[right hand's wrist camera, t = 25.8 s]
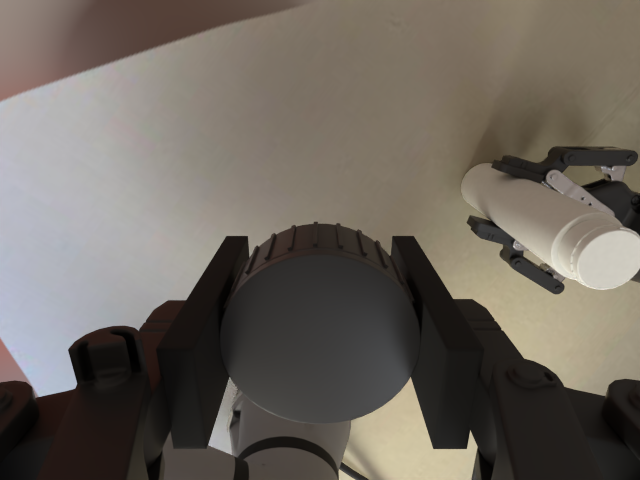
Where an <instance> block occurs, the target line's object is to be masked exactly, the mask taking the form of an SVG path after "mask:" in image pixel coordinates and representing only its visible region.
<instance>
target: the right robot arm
mask: <svg viewBox="0 0 640 480" xmlns="http://www.w3.org/2000/svg"><path fill="white" fill-rule="evenodd" d="M391 255H392V256H393V257H394V259H395V261H396V264H397V266H398V268H399V271H400V272H402V273H403V275H404V278H405V280H406V282H407V284H408V287H409V289H410V291H411V293H412V296H413V298H414V300H415V303H414V304H413V306H414V308H415V311H416V314H417V316H418V319H419V324H420V329H421V342H420V351H419V357H418V361H417V364H416V366H415V369H414V371H413V373H412V375H411V379H412V382H413V385H414V388H415V391H416V395H417V398H418V401H419V404H420V407H421V411H422V414H423V417H424V420H425V423H426V427H427V430H428V433H429V436H430V439H431V443H432V446H433V449H467V445H468V439H469V433H470V430H471V432H472V435H473V437H474V439H475V441H476V444H477V446H478V448H477V453H476V459H475V464H474V469H473V474H472V480H640V381H638V380H630V379H622V380H615V381H614V382H612V383H611V384H610V385H609V387H608V390H607V393H606V396H601V395H597V394H592V393H587V392H583V391H578V390H574V389H570V388H566V387H564V385H563V383H562V382H561V380H560V379H559V378H558V376H557V375H556V374H555V373H553V372H552V371H551V370H549V369H548V368H547V367H545V366H543V365H541V364H538V363H536V362H534V361H531V360H527V359H524V358H523V357H522V355H521V354H520V353H519V351H518V350H517V349H516V347H515V346H514V345H513V343H512V342H511V341H510V339H509V338H508V337H507V335H506V334H505V333H504V331H501V327H500V326H499V325H498V323H497V322H496V321H494V318H493V317H492V315H491V314H490V313H489V311H488V310H487V309H486V308H485V307H483V306H482V305H480V304H479V303H477V302H476V301H474V300H473V299H453V298H452V296H451V295H450V293H449V292H448V290H447V288H446V287H445V285H444V284H443V282H442V280H441V279H440V277H439V276H438V274H437V273H436V271H435V269H434V268H433V266H432V265H431V263H430V261H429V260H428V258H427V257H426V255H425V253H424V252H423V250H422V249H421V247H420V245H419V244H418V242H417V241H416V239H415V238H414V236H392V250H391ZM248 259H249V246H248V236H226V238H225V240H224V241H223V243H222V244H221V246H220V247H219V249H218V251H217V252H216V254H215V255H214V257H213V259H212V260H211V262H210V263H209V265H208V267H207V268H206V270H205V271H204V273H203V275H202V276H201V278H200V279H199V281H198V283H197V284H196V286H195V287H194V289H193V290H192V292H191V294H190V295H189V297H188V298H187V300H168V301H167V302H165V303H164V304H162V305H161V306H159V307H158V308H156V309H155V310H154V311H153V312H152V313H151V315H150V316H149V317H148V319H147V320H146V323H144V324H143V325H142V327H141V328H140V329H139V331H138V330H137V329H135V328H132V327H128V326H112V327H107V328H103V329H98V330H96V331H94V332H91V333H89V334H86V335H85V336H83V337H81V338H80V339H78V340H77V341H75V342H74V343H73V345H72V346H71V347H70V348H69V349H68V351H69V354H70V358H71V362H72V366H73V369H74V373H75V377H76V380H77V386H76V388H75V389H73V390H69V391H66V392H61V393H56V394H52V395H47V396H42V397H37V398H35V395H34V392H33V389H32V387H31V386H30V385H29V384H28V383H26V382H21V381H8V382H1V383H0V480H339V475H338V471H339V469H340V470H342V471H343V472H345V473H346V474H348V475H349V476H351V477H352V478H354V479H356V480H368V479H367V478H365V477H364V476H362V475H360V474H359V473H357V472H356V471H354V470H352V469H351V468H350V467H348V466H347V465H345V464H344V463H342V462H341V461H342V458H343V455H344V452H345V448H346V445H347V442H348V439H349V434H350V427H351V422H350V420H349V421H344V422H339V423H331V424H310V423H301V422H296V421H291V420H288V419H285V418H281V417H279V416H276V415H274V414H272V413H269V412H267V411H266V410H264V409H262V408H260V407H259V406H257V405H256V404H255V403H253V402H252V401H250V400H249V399H248V398H247V397H246V396H245V395H244V394H243V393H242V392H241V391H239V392H238V393H237V395H236V397H235V399H234V402H233V405H232V409H231V412H230V416H229V419H228V423H227V432H228V430H229V431H230V439H231V446H232V454H233V455H230V454H228V453H225V452H223V451H220V450H218V449H215V448H213V447H211V446H208V443H209V440H210V437H211V434H212V431H213V427H214V424H215V421H216V418H217V415H218V411H219V408H220V405H221V402H222V399H223V395H224V392H225V389H226V386H227V383H228V379H229V375H228V373H227V370H226V368H225V366H224V364H223V360H222V356H221V349H220V339H219V332H220V325H221V321H222V317H223V314H224V312H225V311H223V307H224V304H225V302H226V300H227V298H228V295H229V293H230V291H231V288H232V286H233V284H234V282H235V279H236V277H237V275H238V273H239V270H240V268H241V266H242V263H243V262H244V261H245V262H247V260H248Z"/></svg>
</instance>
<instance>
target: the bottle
mask: <svg viewBox="0 0 640 480" xmlns="http://www.w3.org/2000/svg"><path fill="white" fill-rule="evenodd" d="M491 166H492V164H491V163H482V164H478V165H476V166H474V167H473V168H471V169H470V170H469V171H468V172H467V173H466V174H465V176H464V178H463V180H462V183H461V193H462V196H463V198H464V199H465V200H466V202H468V203H469V204H470V205H471V206H473V207H474V208H475V209H477V210H478V211H479V212H481V213H482V214H483V215H484V216H486V217H487V218H488V219H490V220H491V221H492V222H494V223H495V224H496V225H497V226H499V227H500V228H501V229H503V230H504V231H505V232H507V233H508V234H509V235H510V236H512V237H513V238H514V239H516V240H517V241H518V242H519V243H521V244H522V245H523V246H525V247H526V248H527V249H529V250H530V251H531V252H532V253H534V254H535V255H536V256H538V257H539V258H540V259H542V260H543V261H544V262H545V263H547V264H548V265H549V266H551V267H552V268H553V269H555V270H556V271H557V272H558V273H560V274H561V275H563V276H564V277H567V278H569V279H574V280H577V281H578V282H579V283H580V284H582V285H584V286H587V287H589V288H594V289H600V290H606V289H612V288H615V287H618V286H620V285H623V284H624V283H626V282H627V281H629V280H630V279H631V278H632V277H633V276H634V275H635V274H636V273H637V272H638V271H639V269H640V236H639V235H638V234H637V232H635V231H633V230H631V229H629V228H626V227H624V226H622V224H621V223H620V221H619V220H618V219H616V218H615V217H614V216H612V215H610V214H607V213H605V212H603V211H600V210H598V209H596V208H593V207H591V206H589V205H587V204H584V203H582V202H580V201H577V200H575V199H573V198H570V197H568V196H566V195H563V194H561V193H559V192H557V191H554V190H552V189H550V188H547V187H545V186H543V185H540V184H538V183H536V182H534V181H531V180H527V179H524V178H520V177H517V176H514V175H510V174H507V173H503V172H500V171H498V170H496V169H493V168H491Z"/></svg>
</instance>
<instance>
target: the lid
mask: <svg viewBox="0 0 640 480" xmlns="http://www.w3.org/2000/svg"><path fill="white" fill-rule="evenodd" d="M414 303H415V300H414V298H413V296H412V293H411V291H410V289H409V287H408V284H407V282H406V280H405V278H404V275H403V273H402V272H400V271H399V268H398V266H397V264H396V261H395V259H394V257H393V256H392V255H390V256H389V255H388V253H387V252H386V251H385V250H384V249H383V248H382V247H381V245H380V242H379V241H376V242H375V241H373V240H372V239H371V238H369V237H367V236H365V235H364V234H362V232H361V230H357V231H355V230H352V229H350V228H346V227H342V226H340V224H339V223H336V225H331V224H318V222H314V224H309V225H302V226H298V227H296V226H295V225H293V226H292V227H291V228H290V229H288V230H285V231H283V232H280V233H278V234H277V235H276V234H275V233H274V234H272V235H271V238H270V239H268V240H267V241H266V242H264V243H263V244H262V245H261V246H260V247H259V246H256V247H255V248H254V251H253V253H252V255H251V256H250V258H249V259H248V260H247V262H245V261H244V262H243V263H242V266H241V268H240V270H239V273H238V275H237V277H236V279H235V282H234V284H233V286H232V288H231V291H230V293H229V295H228V298H227V300H226V302H225V304H224V307H223V311H225V312H224V314H223V317H222V321H221V325H220V332H219V339H220V349H221V356H222V360H223V364H224V366H225V368H226V370H227V373H228V375H229V376H230V378H231V379H232V381H233V383H234V384H235V385H236V386H237V388H238V389H239V390H240V391H241V392H242V393H243V394H244V395H245V396H246V397H247V398H248V399H249V400H250V401H252V402H253V403H255V404H256V405H257V406H259V407H260V408H262V409H264V410H266V411H267V412H269V413H272V414H274V415H276V416H279V417H281V418H285V419H288V420H291V421H296V422H301V423H310V424H331V423H339V422H344V421H349V420H353V419H356V418H359V417H362V416H364V415H366V414H369V413H371V412H373V411H375V410H376V409H378V408H380V407H382V406H383V405H384V404H386V403H387V402H388V401H390V400H391V399H392V398H393V397H394V396H395V395H396V394H398V393H399V392H400V390H401V389H402V388H403V387H404V386H405V384H406V383H407V382H408V380H409V378H410V377H411V375H412V373H413V371H414V369H415V366H416V364H417V361H418V357H419V351H420V342H421V329H420V324H419V319H418V316H417V314H416V311H415V308H414V306H413V304H414Z"/></svg>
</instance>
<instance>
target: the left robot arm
mask: <svg viewBox="0 0 640 480" xmlns="http://www.w3.org/2000/svg"><path fill="white" fill-rule="evenodd" d="M637 159H638V154H637V153H636V152H635V151H631V150H626V149H621V148H616V147H560V146H556V147H553V148H551V149H550V150H549V152H548V157H547V158H546V159H545V160H544V161H542V162H540V163H534V162H530V161H527V160H524V159H520V158H517V157H514V156H510V155H508V156H503V158H502V160H501V161H498V160H494V161H493V164H492V166H491V168H493V169H496V170H498V171H500V172H503V173H507V174H510V175H514V176H517V177H520V178H524V179H527V180H531V181H534V182H537V183H542V184H543V185H545V186H546V187H547V188H550V189H552V190H554V191H557V192H559V193H561V194H563V195H566V196H568V197H570V198H573V199H575V200H577V201H580V202H582V203H584V204H587V205H589V206H591V207H593V208H596V209H598V210H600V211H603V212H605V213H607V214H610V215H612V216H614V217H615V218H616V219H618V220H619V221H620V223H621V224H622V226H624V227H626V228H629V229H631V230H633V231H635V232H637V234H638V235H639V236H640V193H637V192H634V191H631V190H630V189H629V188H628V186H627V185H626V184H625V183H623V182H622V180H623V177H624V173H625V170H626V166H630V165H633V164H634V163H635V162H636V161H637ZM568 166H594V167H595V170H596V171H599V172H602V173H603V174H604V176H605V178H604V179H601V180H598V181H595V182H592V183H589V184H586V185H583V186H579V185H577V184H576V183H574V182H572V181H571V180H570V179H569V178H567V177H566V176H565V175H563V174H562V172H563V171H564V170H565V169H566V168H567V167H568ZM467 223H468V224H469V225H470V226H471V230H472V231H473V232H474V233H475V234H476V235H477V236H478V237H480V238H482V239H485V240H489V241H493V242H496V243H500V244H503V249H502V250H501V251H500V257H501V258H502V259H503V260H504V261H506V262H507V263H508V264H509V265H510V266H511V267H512V268H513V269H514V270H516V271H517V272H519V273H521V274H522V275H524V276H526V277H527V278H529V279H530V280H532V281H534V282H535V283H537V284H539V285H540V286H542V287H544V288H545V289H547V290H548V291H550V292H552V293H553V294H560V293H561V292H562V291H563V290H564V284H563V283H561V282H562V281H563V280H564V279H565V278H566V277H564V276H563V275H561V274H560V273H558V272H557V271H556V270H555V269H553V268H552V267H551V266H549V265H548V264H547V263H545V264H543V263H542V264H540V267H539V266H538V265H536V264H535V263H533V262H531V261H530V260H528V259H527V258H525V257H523V251H524V250H529V249H527V248H526V247H525V246H523V245H522V244H521V243H519V242H518V241H517V240H516V239H514V238H513V237H512V236H510V235H509V234H508V233H507V232H505V231H504V230H503V229H501V228H500V227H499V226H497V225H496V224H495V223H494V222H492V221H490V220H486V219H482V218H479V217H475V216H471V215H470V216H469V218H468V221H467ZM630 280H632V281H636V282H640V269H639V271H638V272H637V273H636V274H635V275H634V276H633V277H632V278H631V279H630Z"/></svg>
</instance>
